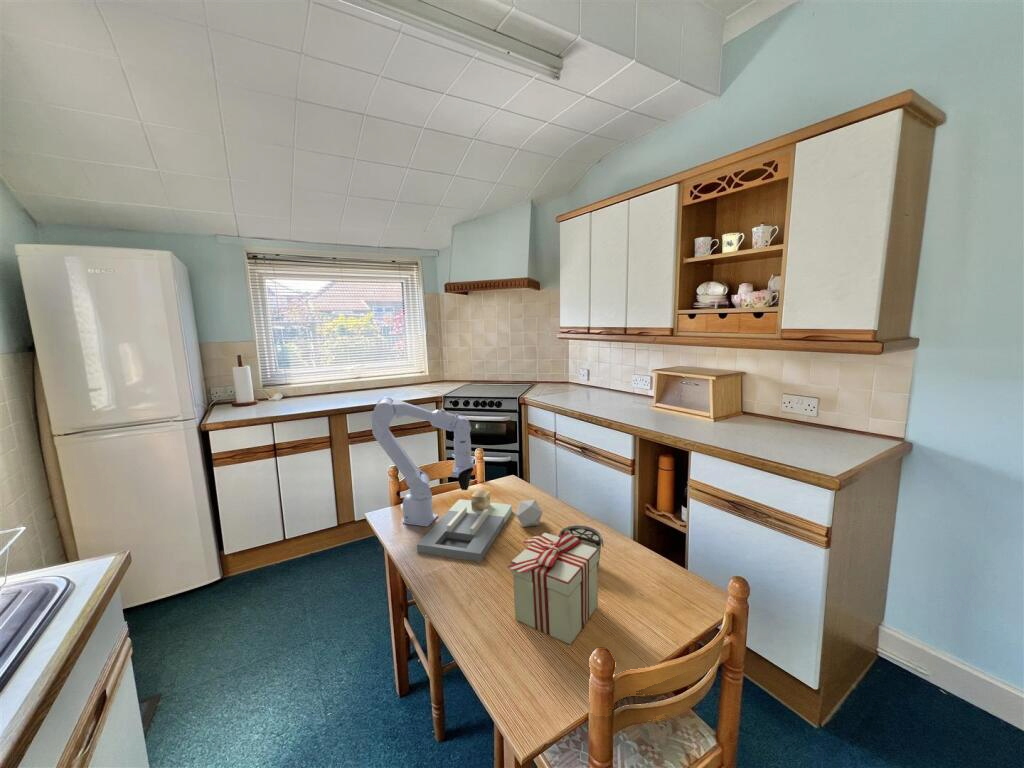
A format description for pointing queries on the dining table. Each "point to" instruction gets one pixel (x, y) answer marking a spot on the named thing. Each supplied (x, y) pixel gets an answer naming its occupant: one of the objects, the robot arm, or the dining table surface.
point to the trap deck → (465, 531)
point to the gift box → (555, 585)
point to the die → (529, 513)
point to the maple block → (480, 500)
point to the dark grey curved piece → (585, 536)
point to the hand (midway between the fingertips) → (464, 489)
